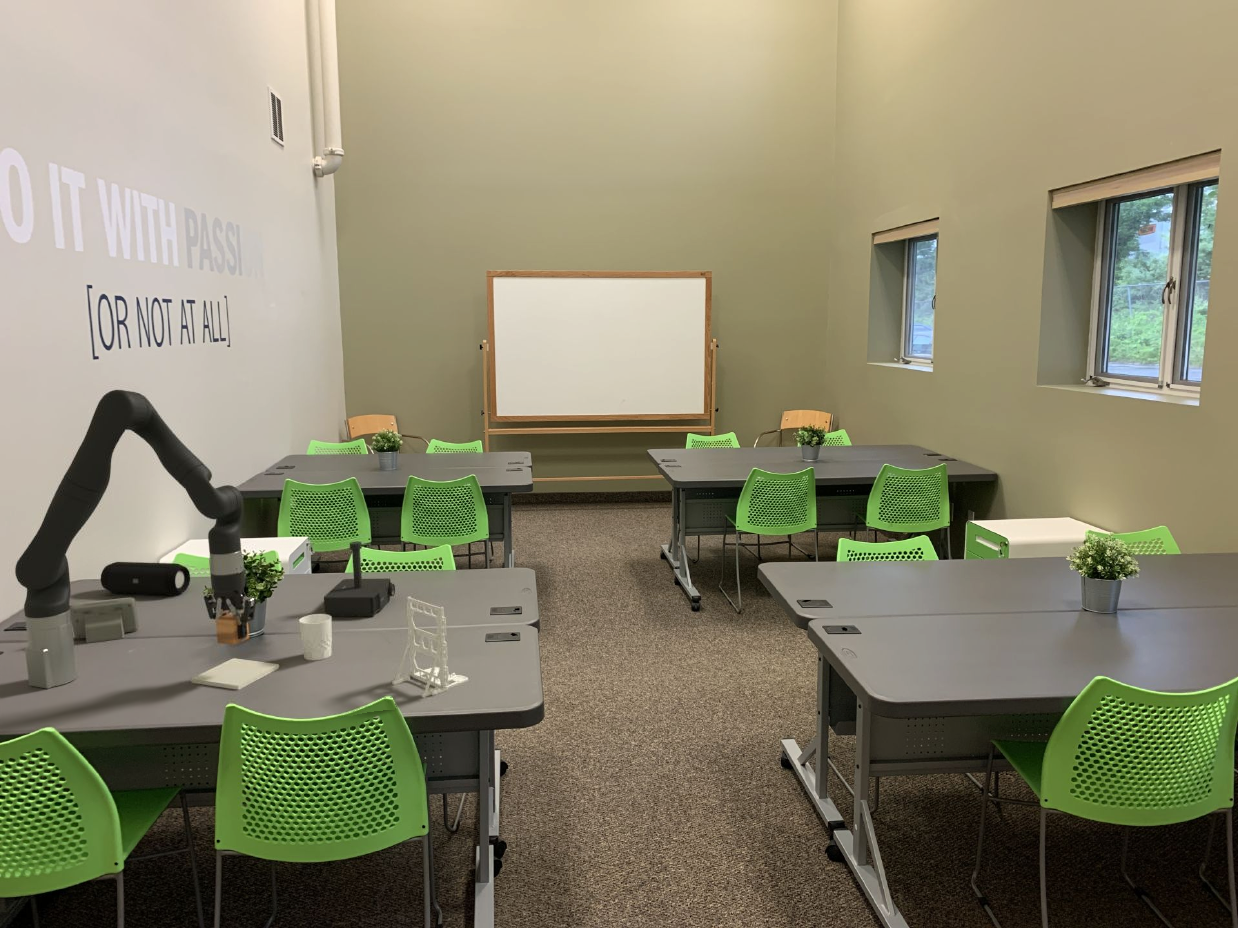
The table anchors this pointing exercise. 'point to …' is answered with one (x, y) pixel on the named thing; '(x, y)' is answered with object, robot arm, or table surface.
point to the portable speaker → (145, 578)
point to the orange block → (228, 630)
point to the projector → (358, 592)
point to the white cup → (316, 636)
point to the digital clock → (104, 619)
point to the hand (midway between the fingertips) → (233, 636)
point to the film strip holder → (428, 652)
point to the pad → (235, 673)
